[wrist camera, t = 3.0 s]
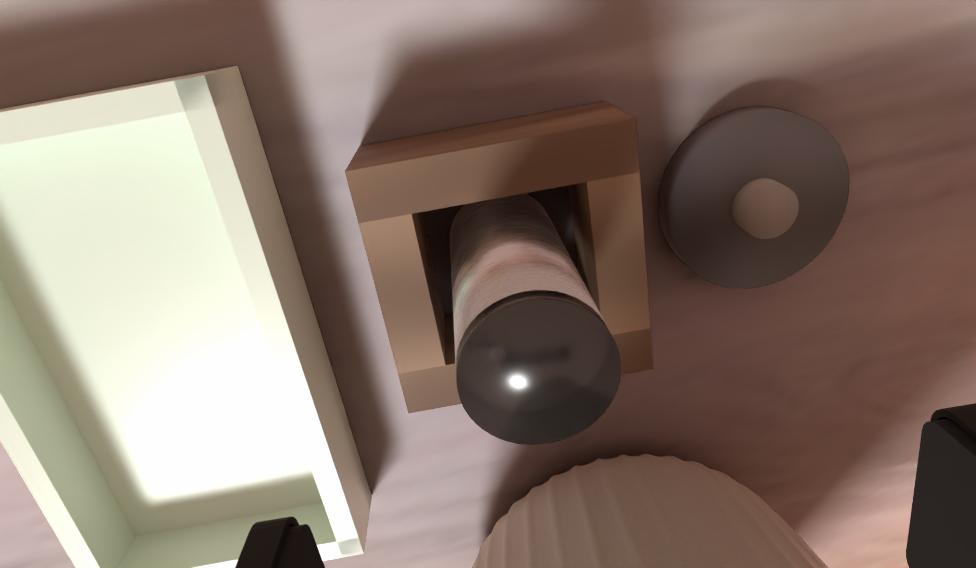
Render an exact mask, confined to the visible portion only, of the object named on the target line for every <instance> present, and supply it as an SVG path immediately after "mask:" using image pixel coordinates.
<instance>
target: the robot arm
mask: <svg viewBox="0 0 976 568" xmlns="http://www.w3.org/2000/svg"><path fill="white" fill-rule="evenodd" d="M906 558H907V563H908V565H909V568H976V403H975V404H969V405H963V406H957V407H951V408H945V409H940V410H937V411H935V412H934V413H933V415H932V417H931V421H929V422H926V423H925V424H924V425H923V429H922V435H921V442H920V450H919V457H918V465H917V473H916V480H915V488H914V496H913V503H912V511H911V518H910V526H909V534H908V541H907V549H906ZM235 568H325V566H324V564H323V561H322V558H321V555H320V553H319V550H318V547H317V544H316V542H315V539H314V536H313V534H312V531H311V529H310V527H309V526H308V525H307V524H303V525H299V523H298V521H297V519H295V518H294V517H285V518H278V519H272V520H266V521H260V522H256V523H255V524H253V525H252V527H251V529H250V531H249V533H248V536H247V538H246V541H245V544H244V546H243V549H242V551H241V554H240V556H239V559H238V561H237V564H236V566H235Z"/></svg>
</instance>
